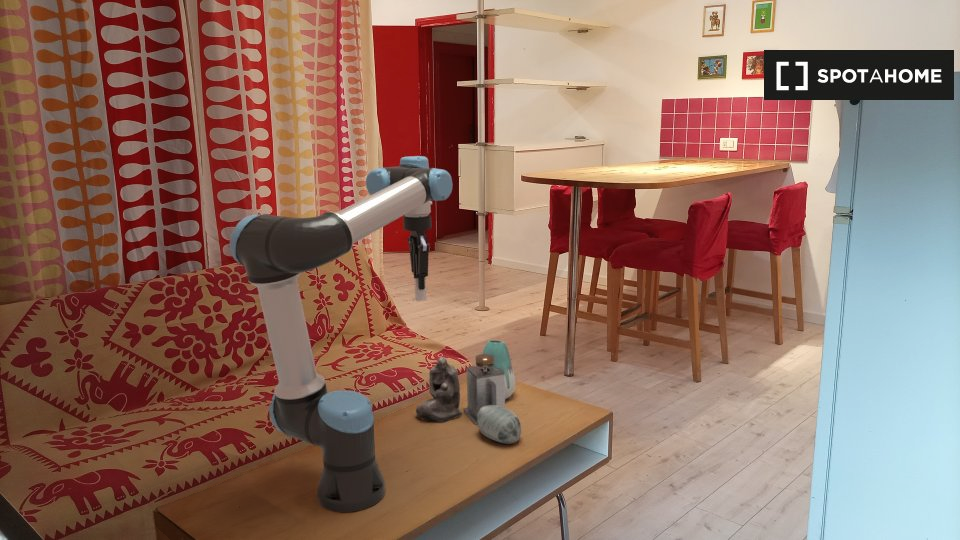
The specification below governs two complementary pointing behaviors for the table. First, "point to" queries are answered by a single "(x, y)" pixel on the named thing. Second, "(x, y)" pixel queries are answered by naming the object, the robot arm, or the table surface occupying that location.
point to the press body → (484, 389)
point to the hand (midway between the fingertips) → (420, 300)
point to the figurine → (441, 394)
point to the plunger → (484, 361)
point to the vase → (502, 363)
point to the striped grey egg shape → (499, 424)
